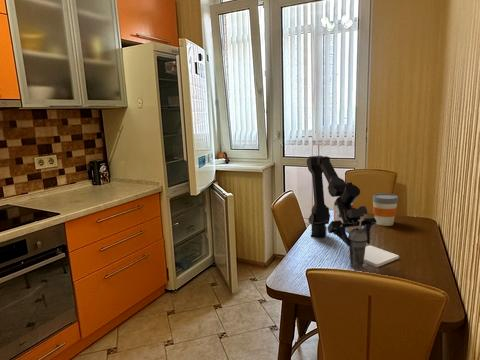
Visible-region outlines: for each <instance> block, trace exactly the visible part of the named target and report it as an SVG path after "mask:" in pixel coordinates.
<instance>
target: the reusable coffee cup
mask: <svg viewBox="0 0 480 360" xmlns="http://www.w3.org/2000/svg"><path fill="white" fill-rule="evenodd" d="M372 203H373V205H372V211H373V215H374V218H375V219H376V221H377V223H376V224H375V225H379V226H384V227H389V226H393V225H394V220H395V217H396V215H397V210H398V203H399V196H398V195H396V194H393V193H374V194H373V195H372Z"/></svg>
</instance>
